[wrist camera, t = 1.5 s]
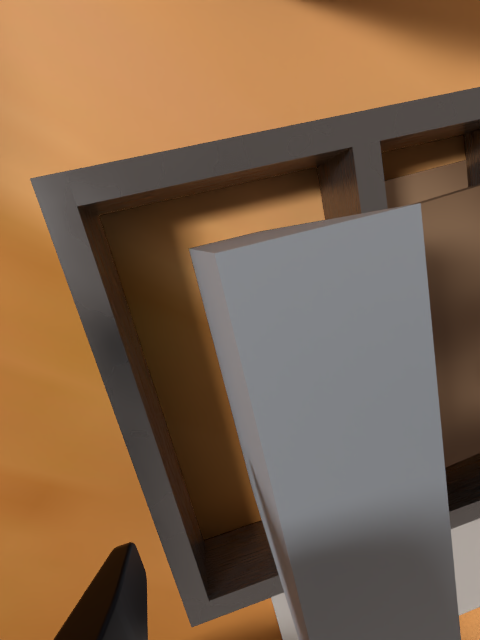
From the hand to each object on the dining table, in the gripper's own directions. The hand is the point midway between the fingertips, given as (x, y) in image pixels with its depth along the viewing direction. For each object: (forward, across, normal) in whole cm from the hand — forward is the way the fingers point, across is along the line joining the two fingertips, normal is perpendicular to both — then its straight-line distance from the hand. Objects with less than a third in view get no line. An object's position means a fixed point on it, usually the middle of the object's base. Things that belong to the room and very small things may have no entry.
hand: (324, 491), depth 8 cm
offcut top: (+7, -9, 0) cm, 11 cm away
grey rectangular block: (+8, 0, 0) cm, 8 cm away
